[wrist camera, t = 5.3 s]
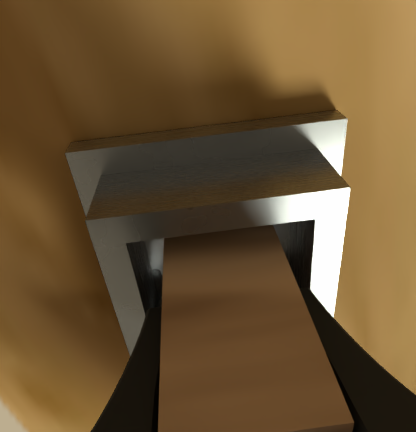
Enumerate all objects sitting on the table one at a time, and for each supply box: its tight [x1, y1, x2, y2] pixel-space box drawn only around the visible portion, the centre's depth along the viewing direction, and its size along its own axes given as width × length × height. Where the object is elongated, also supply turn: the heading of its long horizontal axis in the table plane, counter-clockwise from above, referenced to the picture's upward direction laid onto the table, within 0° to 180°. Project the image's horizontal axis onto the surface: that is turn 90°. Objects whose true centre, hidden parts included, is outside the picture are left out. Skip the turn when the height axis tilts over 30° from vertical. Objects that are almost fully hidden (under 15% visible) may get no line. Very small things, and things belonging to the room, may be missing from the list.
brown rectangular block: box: [158, 225, 354, 432], centre depth 12 cm, size 4×4×8 cm
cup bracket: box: [65, 110, 350, 356], centre depth 15 cm, size 12×10×6 cm
